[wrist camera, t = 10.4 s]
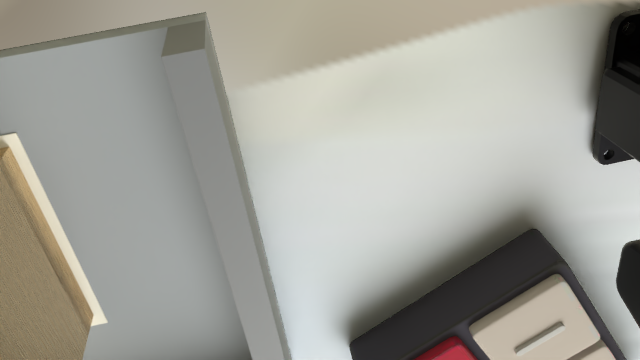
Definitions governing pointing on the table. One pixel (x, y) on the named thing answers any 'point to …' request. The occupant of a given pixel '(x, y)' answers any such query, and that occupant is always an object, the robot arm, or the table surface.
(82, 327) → the bracket
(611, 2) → the table surface
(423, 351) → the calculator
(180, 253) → the arena
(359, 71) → the table surface
